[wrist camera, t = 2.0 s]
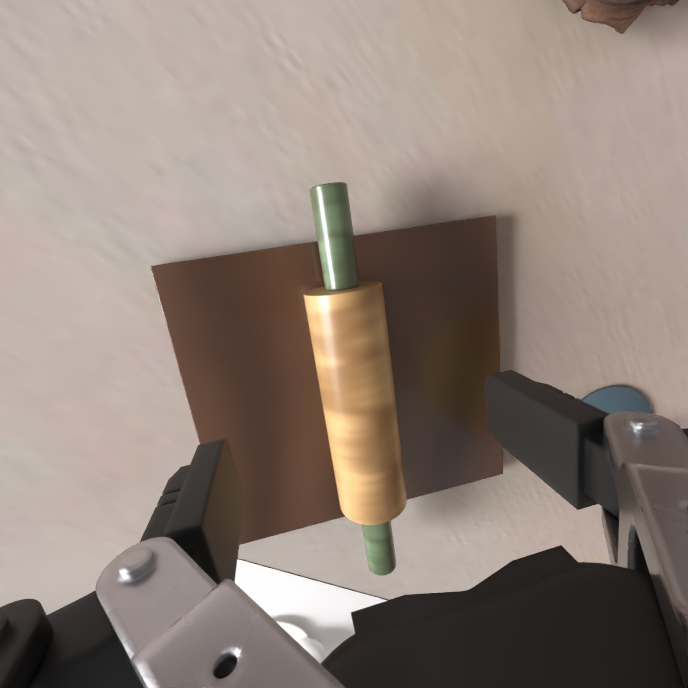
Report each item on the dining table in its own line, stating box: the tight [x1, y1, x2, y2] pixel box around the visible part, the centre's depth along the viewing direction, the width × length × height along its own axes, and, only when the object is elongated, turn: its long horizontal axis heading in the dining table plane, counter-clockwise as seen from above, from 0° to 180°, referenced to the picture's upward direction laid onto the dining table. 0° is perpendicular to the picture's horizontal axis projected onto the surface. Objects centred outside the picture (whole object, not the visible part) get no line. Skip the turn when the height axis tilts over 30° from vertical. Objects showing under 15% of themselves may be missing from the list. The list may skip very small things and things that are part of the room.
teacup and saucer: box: [276, 620, 327, 664], centre depth 32 cm, size 9×8×4 cm
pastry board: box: [150, 215, 503, 545], centre depth 28 cm, size 24×22×1 cm
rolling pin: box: [304, 182, 407, 575], centre depth 25 cm, size 5×28×5 cm, turn 8°
